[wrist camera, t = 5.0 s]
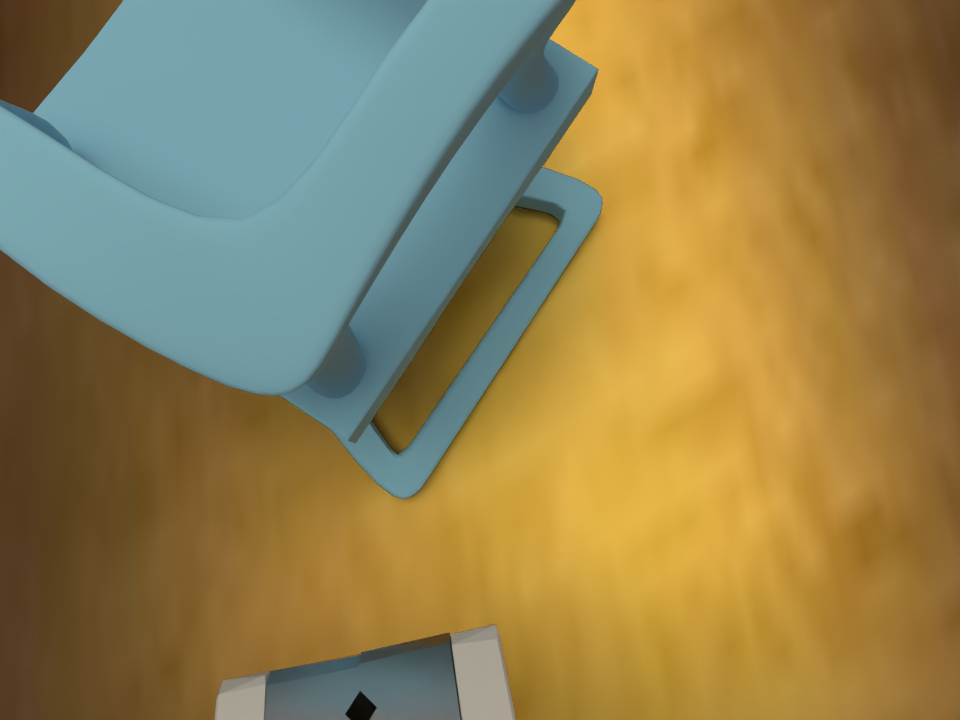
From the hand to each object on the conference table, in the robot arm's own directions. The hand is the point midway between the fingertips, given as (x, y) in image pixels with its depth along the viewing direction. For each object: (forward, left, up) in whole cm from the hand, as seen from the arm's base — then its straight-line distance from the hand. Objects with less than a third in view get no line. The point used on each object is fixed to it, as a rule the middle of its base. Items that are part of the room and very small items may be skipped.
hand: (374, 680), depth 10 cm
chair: (+5, -6, -9) cm, 12 cm away
